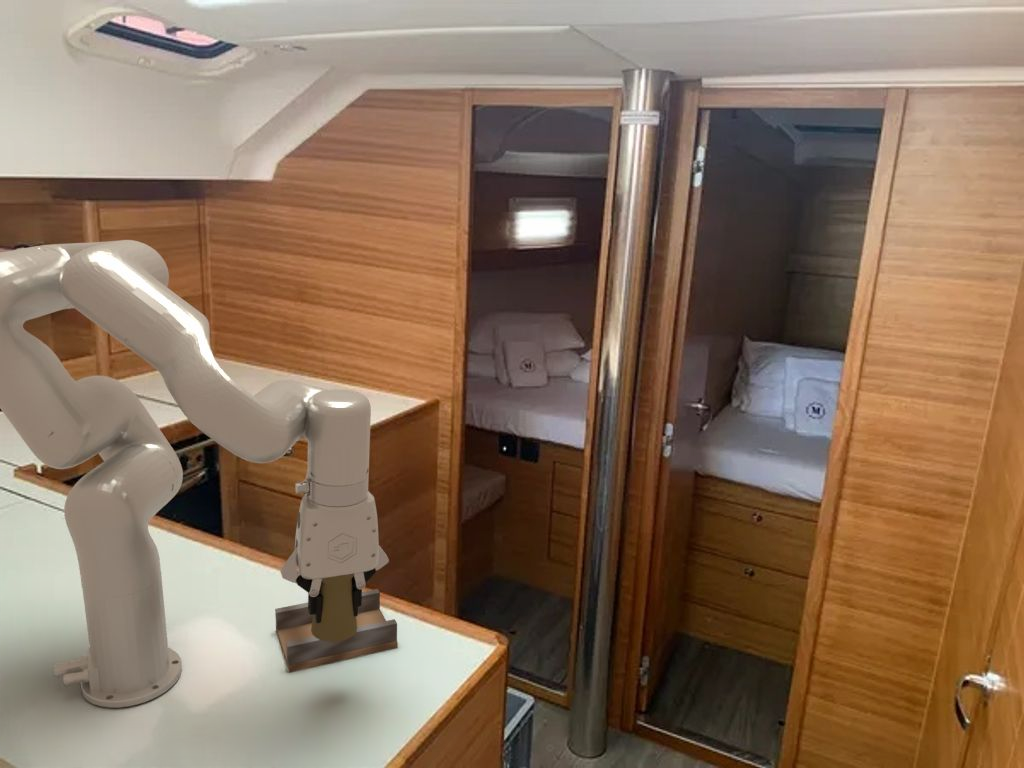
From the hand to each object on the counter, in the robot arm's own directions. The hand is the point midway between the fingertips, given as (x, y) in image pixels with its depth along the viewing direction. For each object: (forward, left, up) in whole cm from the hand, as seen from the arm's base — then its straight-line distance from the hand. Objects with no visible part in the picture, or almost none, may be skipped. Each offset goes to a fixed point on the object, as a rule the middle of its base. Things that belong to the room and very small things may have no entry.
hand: (334, 612), depth 106 cm
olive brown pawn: (0, 0, -3) cm, 3 cm away
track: (+3, +13, -13) cm, 18 cm away
